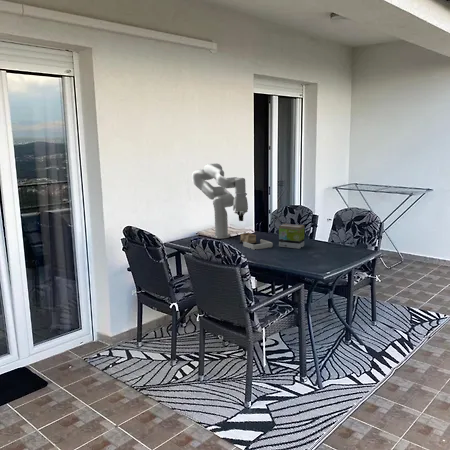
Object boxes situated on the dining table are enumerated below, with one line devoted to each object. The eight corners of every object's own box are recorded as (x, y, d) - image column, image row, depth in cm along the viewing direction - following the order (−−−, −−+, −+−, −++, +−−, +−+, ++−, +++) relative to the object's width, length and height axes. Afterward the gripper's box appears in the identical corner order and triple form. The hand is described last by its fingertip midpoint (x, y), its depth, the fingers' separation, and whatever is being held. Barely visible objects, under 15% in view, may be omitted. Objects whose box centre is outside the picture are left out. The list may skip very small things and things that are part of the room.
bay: (243, 246, 321) (243, 241, 321) (261, 243, 329) (261, 239, 328) (253, 249, 310) (253, 245, 309) (272, 246, 317) (272, 242, 316)
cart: (239, 242, 332) (239, 233, 331) (249, 241, 336) (249, 232, 335) (246, 245, 323) (246, 236, 322) (257, 243, 327) (257, 234, 326)
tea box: (278, 247, 316) (278, 225, 314) (283, 244, 325) (283, 223, 323) (299, 249, 309) (300, 227, 307) (304, 246, 318) (304, 224, 316)
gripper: (246, 194, 339) (247, 219, 342) (228, 195, 332) (229, 221, 335) (252, 194, 333) (252, 220, 336) (234, 196, 326) (234, 222, 329)
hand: (241, 220), depth 335 cm, fingers closed
